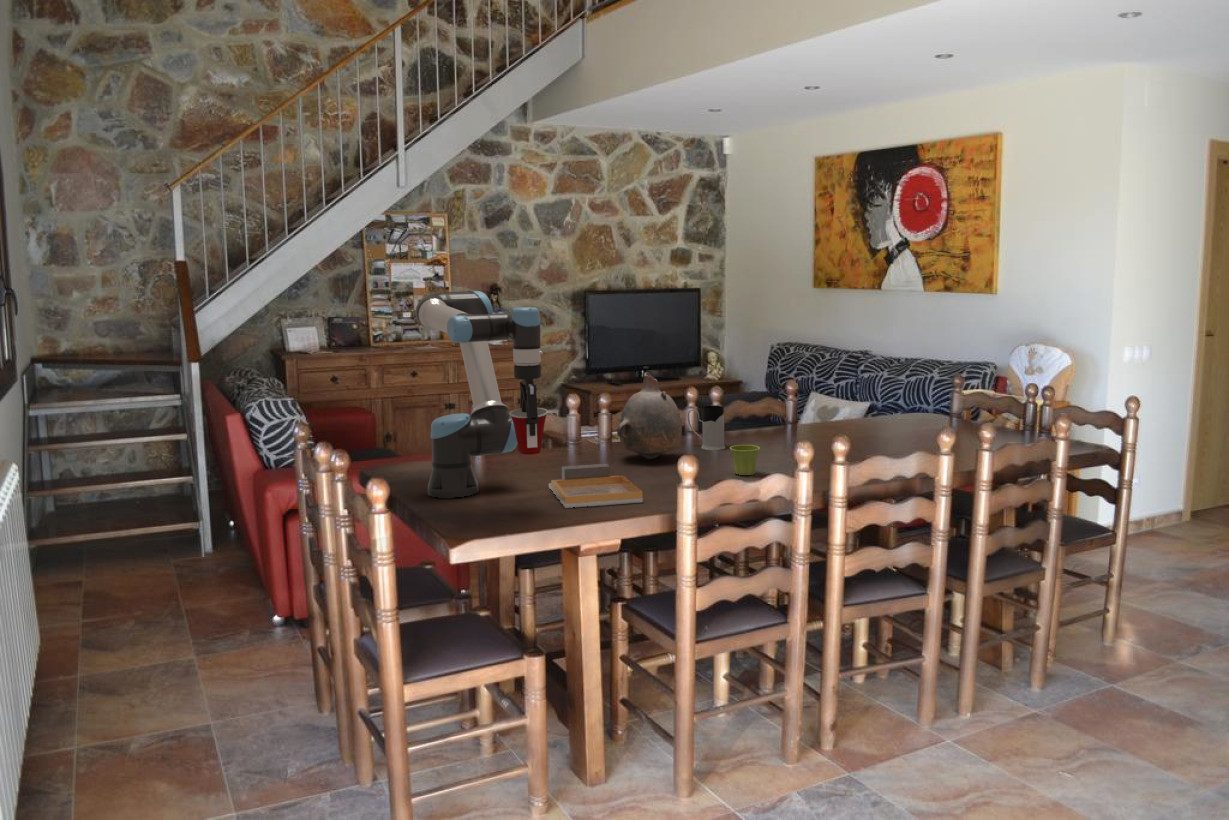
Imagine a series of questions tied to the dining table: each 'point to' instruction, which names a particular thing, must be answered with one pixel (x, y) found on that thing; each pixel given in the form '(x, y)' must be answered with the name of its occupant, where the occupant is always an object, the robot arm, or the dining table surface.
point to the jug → (650, 421)
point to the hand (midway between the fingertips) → (529, 443)
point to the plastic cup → (521, 429)
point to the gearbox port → (594, 487)
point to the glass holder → (711, 427)
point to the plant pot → (744, 458)
